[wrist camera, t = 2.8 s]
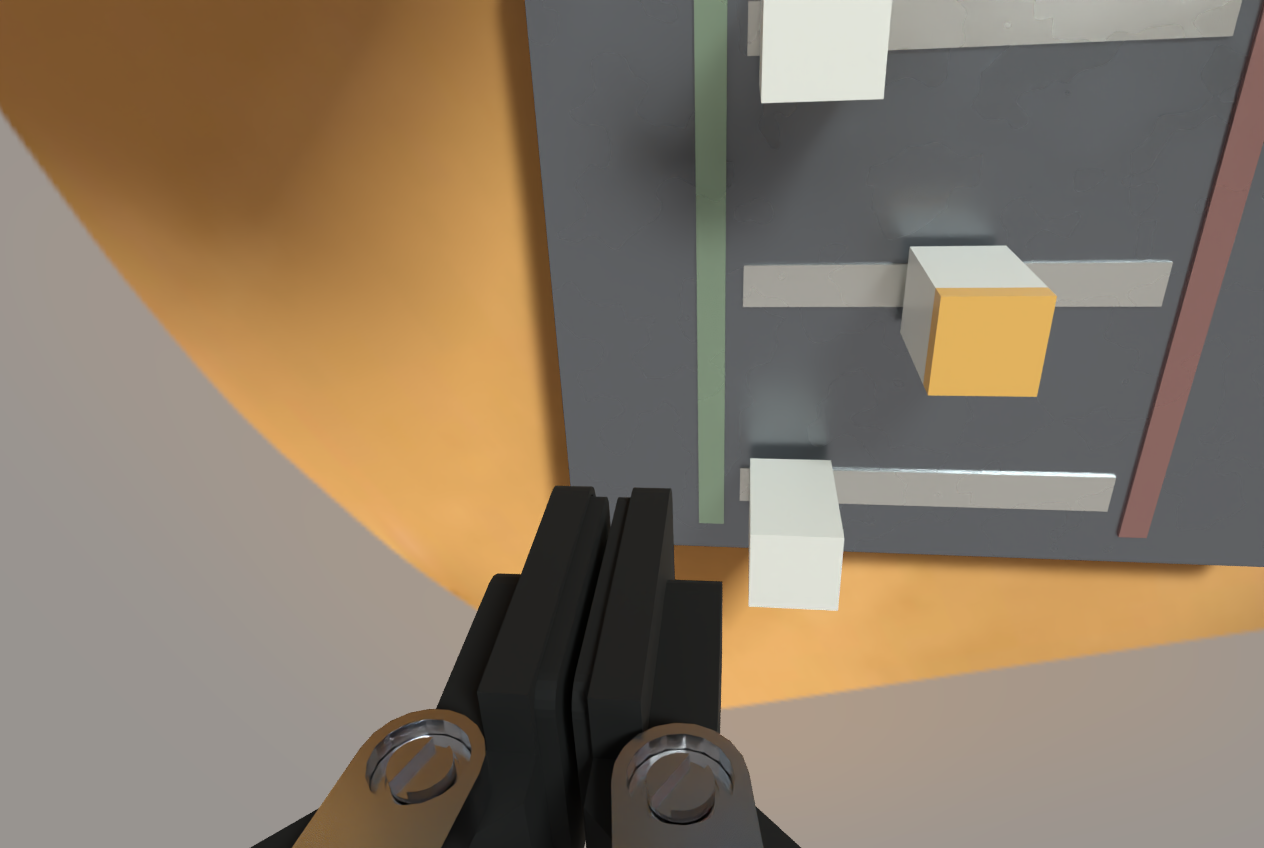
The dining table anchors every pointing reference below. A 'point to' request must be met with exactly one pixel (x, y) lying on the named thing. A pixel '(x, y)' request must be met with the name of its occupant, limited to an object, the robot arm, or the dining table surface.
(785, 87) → the block
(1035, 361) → the block
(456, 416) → the dining table surface
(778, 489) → the block
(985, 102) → the panel
